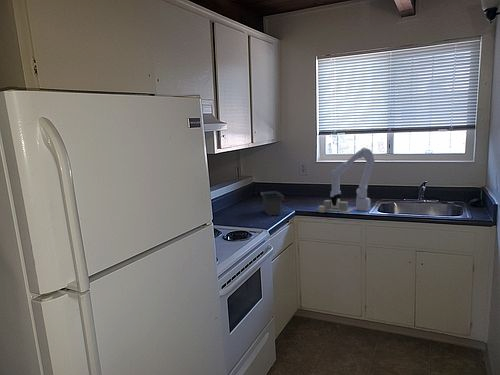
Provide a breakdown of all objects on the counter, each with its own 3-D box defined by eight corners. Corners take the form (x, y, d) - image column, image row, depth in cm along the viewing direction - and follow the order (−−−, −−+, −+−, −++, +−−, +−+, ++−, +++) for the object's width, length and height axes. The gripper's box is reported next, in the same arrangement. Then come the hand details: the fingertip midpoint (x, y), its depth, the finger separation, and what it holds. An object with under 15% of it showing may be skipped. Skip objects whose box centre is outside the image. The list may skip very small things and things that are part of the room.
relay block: (325, 211, 271) (325, 205, 270) (324, 212, 267) (323, 207, 266) (319, 210, 272) (319, 205, 272) (318, 212, 269) (318, 206, 268)
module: (340, 206, 273) (340, 198, 272) (337, 208, 269) (337, 199, 268) (333, 206, 275) (333, 197, 274) (331, 207, 272) (331, 199, 271)
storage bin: (259, 210, 282) (259, 191, 279) (279, 208, 284) (279, 190, 282) (266, 217, 261) (265, 197, 258) (287, 215, 264) (287, 195, 261)
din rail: (352, 210, 269) (352, 201, 268) (348, 212, 263) (348, 203, 262) (324, 207, 282) (323, 198, 281) (319, 209, 276) (319, 201, 275)
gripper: (334, 184, 278) (334, 202, 280) (326, 187, 266) (326, 206, 268) (343, 184, 273) (343, 203, 276) (335, 188, 262) (335, 207, 264)
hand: (335, 204), depth 272 cm, fingers closed on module, 4 cm apart
